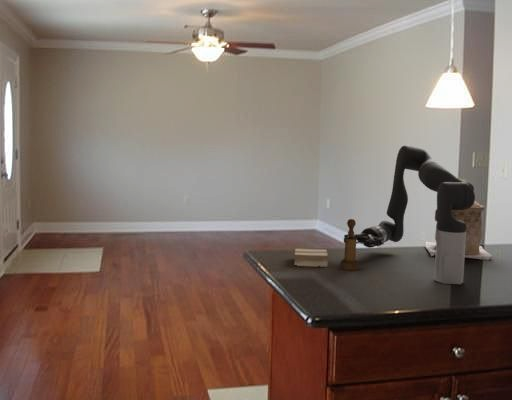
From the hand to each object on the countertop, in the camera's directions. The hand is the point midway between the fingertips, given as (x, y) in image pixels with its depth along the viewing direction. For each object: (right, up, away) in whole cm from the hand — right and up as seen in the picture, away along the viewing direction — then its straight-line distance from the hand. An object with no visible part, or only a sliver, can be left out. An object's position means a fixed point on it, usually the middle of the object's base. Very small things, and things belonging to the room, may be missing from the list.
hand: (355, 242), depth 212 cm
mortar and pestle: (-3, -10, -2) cm, 10 cm away
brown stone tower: (+47, -7, +30) cm, 57 cm away
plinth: (-16, -8, +6) cm, 19 cm away
